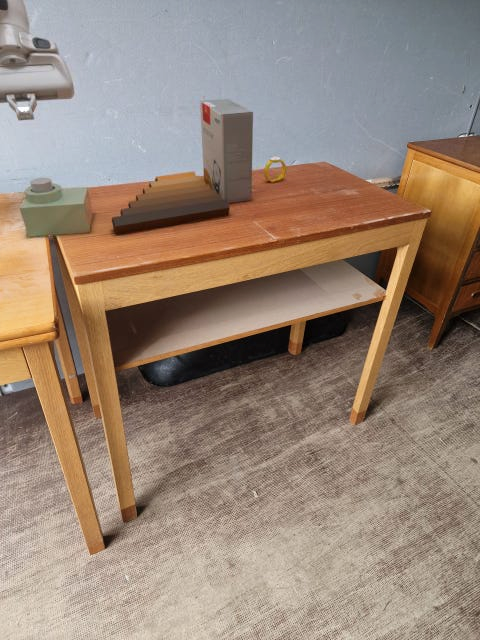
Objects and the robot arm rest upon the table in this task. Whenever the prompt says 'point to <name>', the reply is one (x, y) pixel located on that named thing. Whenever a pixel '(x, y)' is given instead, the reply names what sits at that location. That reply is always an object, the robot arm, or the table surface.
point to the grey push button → (41, 185)
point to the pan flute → (171, 204)
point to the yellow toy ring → (272, 160)
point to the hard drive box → (227, 148)
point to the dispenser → (57, 211)
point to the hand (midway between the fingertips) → (25, 118)
